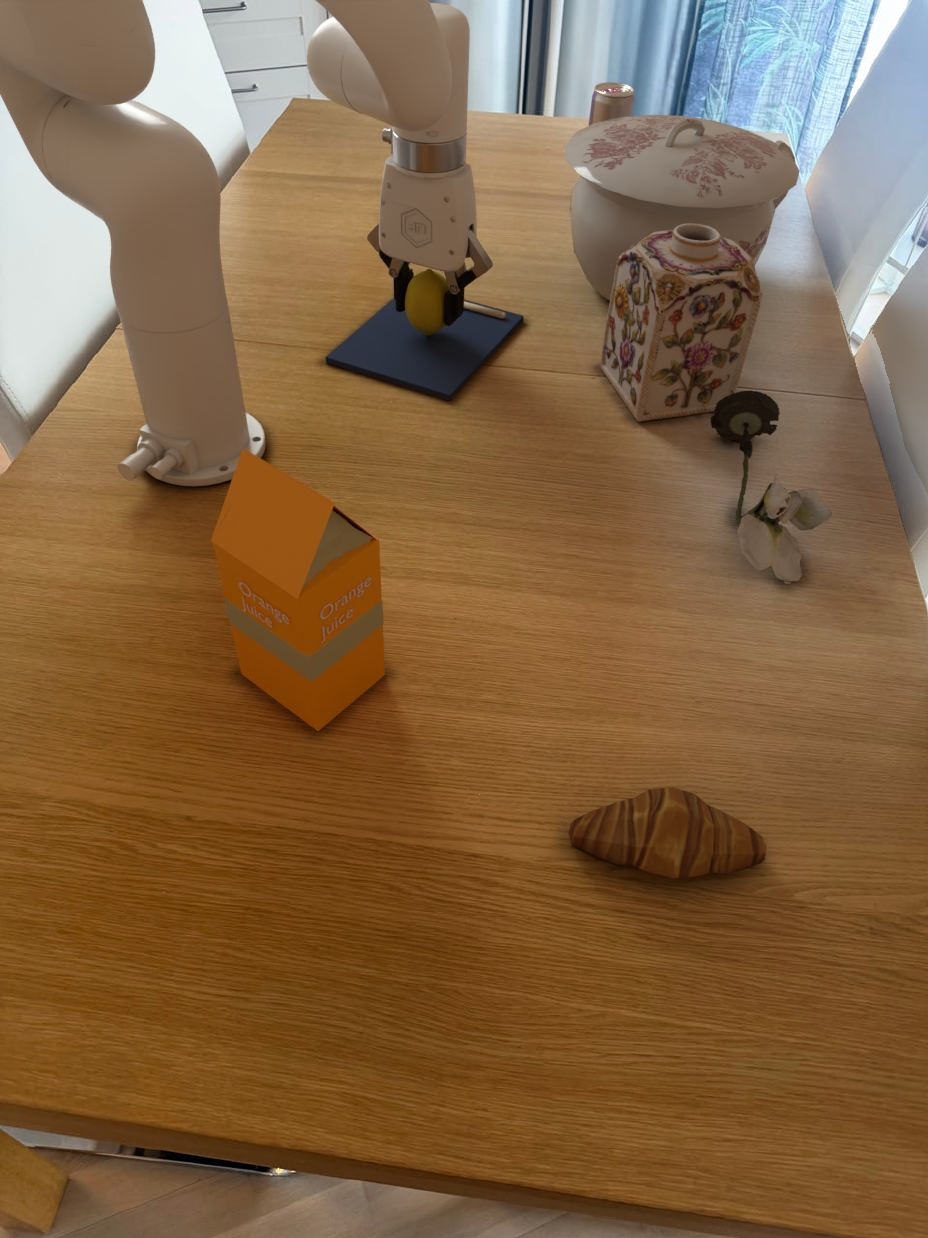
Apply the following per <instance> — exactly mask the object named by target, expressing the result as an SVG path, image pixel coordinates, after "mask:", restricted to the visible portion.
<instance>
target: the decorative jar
mask: <svg viewBox="0 0 928 1238" xmlns="http://www.w3.org/2000/svg"><path fill="white" fill-rule="evenodd" d="M762 298H763V292H762V290H761V284H760V280H759V277H758V275H757V270H756V265H754V261H753V259H752V258H751V257H750V256H749V255H748V254H747V253H746V251H745V250H744V249H743V248H742V247H741V246H739V245H738V244H737V243H736V242H734V241H732V240H730V239H726V238H723V237H720V234H719V233H718V231H717V230H715V229H714V228H711V227H709V226H705V225H701V224H682V225H679V226H677V227H676V228H675V229H674V230H668V231H657V232H653V233H651V234H650V235H649V236H647V237H646V238H644V239H642V240H641V241H640V242H638V243H635V244H634V245H633V246H631V247H630V248H629V250H627V251H625V252H623V253H622V255H621V256H619V257H618V259H617V266H616V270H615V276H614V281H613V287H612V292H611V298H610V301H609V305H608V309H607V316H606V320H605V327H604V334H603V341H602V348H601V356H600V369H601V370H602V371H601V372H603V374H604V375H605V377H606V378H607V379H608V381H609V382H610V383H611V385H612V386H613V388H614V389H615V391H616V392H617V394H618V396H619V397H620V398H621V400H622V401H623V403H624V405H625V406H626V407H627V409H628V410H629V411H630V413H631V415H632V416H633V418H634V419H635V420H636V421H637V422H638V423H639V422H647V421H652V420H655V421H656V420H663V419H669V418H677V417H686V416H693V415H699V414H705V413H711V412H713V413H714V410H715V407H716V404H717V403H718V402H719V400H722V399H723V398H724V397H726V396H729V395H731V394H733V393H736V392H737V389H738V386H739V383H740V379H741V376H742V373H743V369H744V366H745V362H746V358H747V354H748V350H749V346H750V343H751V340H752V337H753V333H754V329H755V326H756V322H757V318H758V314H759V311H760V308H761V303H762Z"/></svg>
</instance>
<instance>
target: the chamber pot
mask: <svg viewBox="0 0 928 1238" xmlns="http://www.w3.org/2000/svg"><path fill="white" fill-rule="evenodd" d="M564 153H565V160H566V162H567V163H568V165H570V166H571V167H572V169H574V171H575V172H576V173H577V174H578V175H579V177H578V179H577V180H576V182H575V183H574V185H573V186H572V189H571V196H570V205H569V214H570V215H569V216H570V225H571V226H570V227H571V236H572V237H571V239H572V246H573V247H572V248H573V253H574V255H575V257H576V259H577V261H578V264H579V265H580V268H581V270H582V272H583V274H584V276H585V278H586V280H587V281H588V282H589V284H590V285H591V286H592V288H594V290H595V291H596V292H597V294H598V295H599V296H601V297H602V298H604V300H605V299H606V301H608V302H610V298H611V292H612V287H613V281H614V276H615V270H616V266H617V259H618V257H619V256H621V255H622V253H623V252H625V251H627V250H629V248H630V247H631V246H633V245H634V244H635V243H638V242H640V241H641V240H642V239H644V238H646V237H647V236H649V235H650V234H651V233H653V232H657V231H668V230H674V229H675V228H676V227H677V226H679V225H682V224H701V225H705V226H709V227H711V228H714V229H715V230H717V231H718V233H719V234H720V237H723V238H726V239H730V240H732V241H734V242H736V243H737V244H738V245H739V246H741V247H742V248H743V249H744V250H745V251H746V253H747V254H748V255H749V256H750V257H751V258H752V259H753V261H754V265H755V266H756V265H757V262H758V261H759V259H760V257H761V255H762V253H763V250H764V249H765V246H766V245H767V242H768V238H769V235H770V231H771V228H772V223H773V221H774V218H775V217H774V216H775V214H776V209H777V208H778V207H779V206H780V204H782V202H783V201H784V200H785V198H786V197H787V195H788V193H789V190H792V189H794V187H796V186H797V182H798V179H799V175H800V169H799V167H798V165H797V163H796V157H795V154H794V152H793V150H792V148H791V147H790V146H789V145H788V144H787V143H786V142H784V141H783V140H776V141H775V142H774V141H773V140H771V139H769V138H766V137H764V136H762V135H759V134H758V133H755V132H753V131H750V130H748V129H744V128H742V127H738V126H735V125H731V124H727V123H724V122H721V121H716V120H713V119H706V118H700V117H693V116H687V115H686V116H685V115H672V114H671V115H668V114H645V115H632V116H630V117H619V118H615V119H610V120H606V121H601V122H597V123H594V124H591V125H589V124H588V126H586V127H584V128H582V129H579V130H578V131H575V132H574V134H573V135H572V136H571V137H570V138H569V140H568V141H567V143H566V144H565V145H564Z"/></svg>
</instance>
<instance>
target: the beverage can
mask: <svg viewBox="0 0 928 1238" xmlns="http://www.w3.org/2000/svg"><path fill="white" fill-rule="evenodd" d="M634 103H635V89H634V87H632V86H631V85H629V84H625V83H622V82H613V81H612V82H611V81H609V82H601V83H597V84H595V85H594V90H593V93H592V95H591V101H590V111H589V118H588V126H589V125H591V124H594V123H597V122H601V121H606V120H610V119H615V118H619V117H630V116H633V113H634V105H635V104H634Z"/></svg>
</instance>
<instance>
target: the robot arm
mask: <svg viewBox="0 0 928 1238" xmlns="http://www.w3.org/2000/svg"><path fill="white" fill-rule="evenodd" d="M315 2H317V3H318V4H319V5H320V6H322V8H324V9H325V10H326V11H327V12H328V13H329V14H330V15H331V16H330V17H329V18H327V19H325V20H324V21H323V22H322V23H320V25H319V26H318V27H317V28H316V29H315V30H314V32H313V34H312V36H311V37H310V40H309V42H308V45H307V49H306V67H307V71H308V74H309V77H310V79H311V81H312V82H313V85H314V86H315V87H316V89H317V90H318V91H319V92H320V93H321V94H322V95H323V96H325V98H327V99H328V100H330V101H331V102H333V103H335V104H337V105H339V106H342V107H344V108H346V109H349V110H352V111H354V112H356V113H358V114H361V115H364V116H367V117H371V118H372V119H374V120H377V121H379V122H382V123H384V124H386V125H389V126H391V127H384V128H383V130H382V133H381V139H382V141H383V142H384V143H388V144H389V145H390V150H391V151H390V154H391V156H388V157H387V158H386V159H385V161H384V167H383V172H382V178H381V179H382V180H381V186H380V195H379V206H378V207H379V208H378V210H379V211H378V223H377V225H376V226H374V228H373V229H372V230H371V231H370V232H369V233H368V234H367V235H366V239H367V242H368V243H369V244H370V245H371V246H372V248H373V249H374V250H375V251H376V252H377V253H378V257H379V258H380V259H381V260H382V262H383V263H384V264H385V266H386V267H387V269H388V274H389V276H390V277H391V278H392V280H393V298H394V299H395V300H396V311H397V312H403V311H404V310H405V295H406V290H407V287H408V285H409V283H410V281H411V279H412V278H413V277H414V276H415V274H414V273H415V272H414V269H413V268H410V265H411V264H413V265H416V266H419V267H424V268H427V269H432V270H436V271H440V272H443V273H444V278H445V279H446V281H447V284H448V288H449V290H447V291H446V292H445V294H444V324H445V325H447V326H451V325H452V324H453V323H454V322H455V321H456V320H457V319H458V318H459V317H460V316H461V315H462V314H463V311H464V300H465V288H467V286H469V285H470V284H471V283H473V282H474V281H475V280H477V279H478V278H480V277H481V276H483V275H484V274H486V273H487V272H489V271H490V270H491V269H492V268H493V266H494V263H493V261H492V259H491V258H490V256H489V255H488V253H487V251H486V250H485V248H484V247H483V245H482V244H481V241H479V239H478V237H477V234H478V231H477V228H478V227H477V226H478V225H477V224H478V221H477V203H476V190H475V183H474V176H473V172H472V167H471V164H469V163H467V139H468V137H467V135H468V134H467V133H468V132H467V130H468V101H469V100H468V97H469V68H470V67H469V65H470V40H471V36H470V33H471V29H470V23H469V20H468V18H467V15H465V13H463V11H462V10H461V9H459V8H456V7H454V6H452V5H448V4H445V3H437V2H430V0H315ZM155 63H156V43H155V38H154V32H153V28H152V25H151V21H150V18H149V16H148V12H147V10H146V5H145V3H144V0H0V97H1V99H2V101H3V103H4V105H5V107H6V110H7V111H8V113H9V116H10V117H11V120H12V122H13V123H14V125H15V128H16V129H17V132H18V133H19V135H20V137H21V139H22V141H23V144H24V146H25V148H26V149H27V151H28V153H29V155H30V157H31V158H32V161H34V163H35V165H36V166H37V168H38V169H39V171H40V172H41V174H42V175H43V176H44V178H45V179H46V180H47V181H48V182H49V183H50V185H52V187H54V189H56V190H57V191H58V192H60V193H61V194H62V195H64V196H65V197H66V198H68V199H69V200H71V201H72V202H74V203H76V204H77V205H79V206H80V207H82V208H83V209H85V210H87V211H89V212H90V213H91V214H92V215H94V216H95V217H97V218H99V219H100V220H101V221H102V222H104V224H105V225H106V227H107V229H108V234H109V238H110V258H109V276H110V278H109V279H110V284H111V289H112V294H113V299H114V303H115V307H116V308H115V309H116V311H117V315H118V317H119V321H120V325H121V329H122V332H123V337H124V340H125V344H126V349H127V352H128V356H129V361H130V365H131V367H132V371H133V376H134V379H135V383H136V387H137V391H138V395H139V399H140V404H141V407H142V411H143V414H144V418H145V422H146V423H145V424H144V425H143V426H141V427H140V428H139V433H140V436H139V437H138V439H137V444H136V451H135V452H134V453H130V454H129V455H128V456H126V458H124V459H123V460H122V461H120V462H119V463H118V464H117V470H118V473H119V474H120V476H121V477H123V478H124V479H125V480H127V481H129V482H130V481H131V482H132V481H134V480H135V479H136V478H137V477H139V476H140V475H142V473H144V472H146V473H148V474H149V475H150V476H152V477H153V478H155V479H156V480H159V481H161V482H165V483H167V484H170V485H176V486H181V487H203V486H204V487H206V486H212V485H218V484H221V483H225V482H228V481H232V478H233V475H234V472H235V470H236V467H237V464H238V461H239V458H240V455H241V452H242V449H243V448H244V449H245V450H247V451H249V452H250V453H252V454H254V455H255V456H257V457H259V458H260V459H262V457H263V455H264V453H265V450H266V443H267V441H266V440H267V439H266V436H265V430H264V428H263V425H262V424H261V423H260V422H259V420H257V418H255V417H254V416H252V415H251V414H250V413H248V412H246V407H245V401H244V395H243V389H242V383H241V375H240V370H239V369H240V368H239V364H238V357H237V352H236V346H235V339H234V334H233V327H232V322H231V316H230V309H229V302H228V298H227V293H226V287H225V279H224V274H223V273H224V271H223V265H222V264H223V263H222V253H221V236H220V234H221V231H220V230H221V229H220V228H221V226H220V225H221V224H220V223H221V201H222V200H221V199H222V198H221V196H222V195H221V186H220V185H221V184H220V179H219V175H218V170H217V167H216V164H215V163H214V161H213V159H212V156H211V155H210V153H209V152H208V150H207V148H206V147H205V146H204V145H203V143H202V142H201V141H200V140H199V139H198V138H197V137H196V136H195V135H194V134H193V132H191V131H190V130H189V129H187V128H186V127H185V126H184V125H182V124H181V123H180V122H178V121H176V120H175V119H173V118H171V117H169V116H167V115H166V114H163V113H161V112H160V111H157V110H155V109H153V108H151V107H150V106H148V105H146V104H143V103H141V102H139V101H136V100H134V99H135V98H137V97H139V96H140V95H141V94H142V93H143V92H144V91H145V90H146V89H147V87H148V85H149V84H150V82H151V80H152V78H153V75H154V70H155ZM466 259H471V260H472V262H473V265H472V266H471V267H470V268H468V269H467V265H466V262H465V261H466Z"/></svg>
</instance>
